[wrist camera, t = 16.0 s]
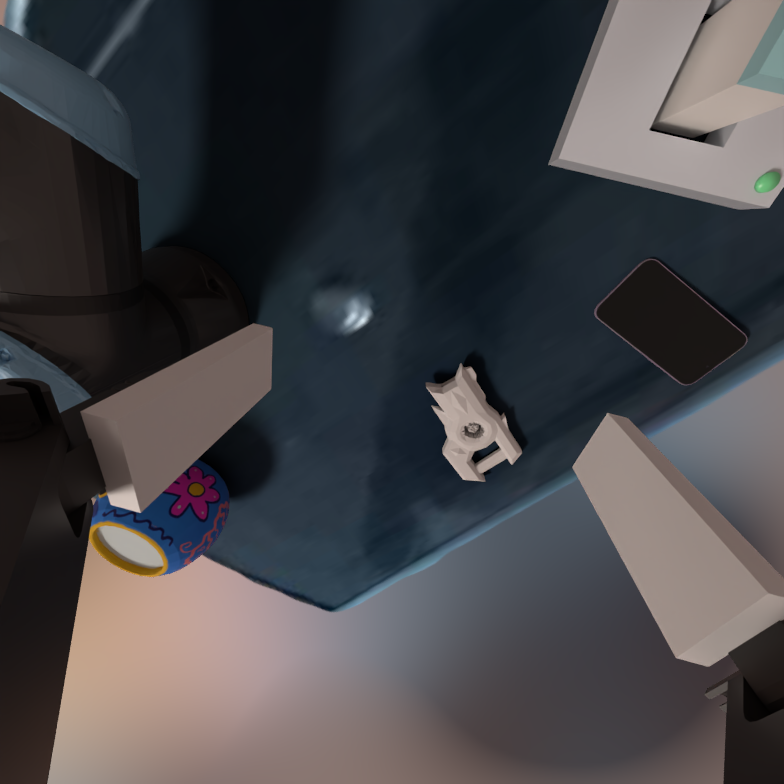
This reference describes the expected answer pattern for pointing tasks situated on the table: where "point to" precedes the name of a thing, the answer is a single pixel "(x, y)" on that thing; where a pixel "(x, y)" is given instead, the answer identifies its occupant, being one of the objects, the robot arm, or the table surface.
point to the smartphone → (669, 323)
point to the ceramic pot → (163, 524)
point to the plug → (728, 70)
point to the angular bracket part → (471, 425)
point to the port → (641, 104)
